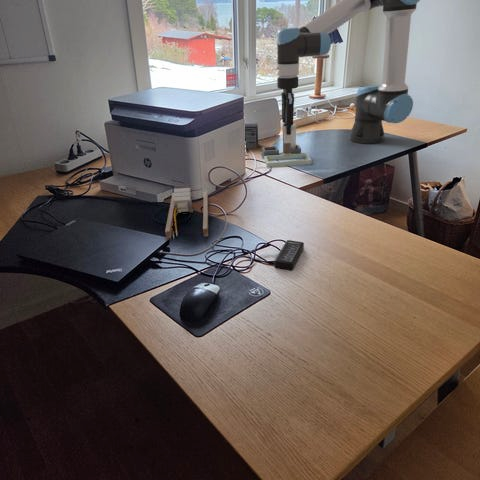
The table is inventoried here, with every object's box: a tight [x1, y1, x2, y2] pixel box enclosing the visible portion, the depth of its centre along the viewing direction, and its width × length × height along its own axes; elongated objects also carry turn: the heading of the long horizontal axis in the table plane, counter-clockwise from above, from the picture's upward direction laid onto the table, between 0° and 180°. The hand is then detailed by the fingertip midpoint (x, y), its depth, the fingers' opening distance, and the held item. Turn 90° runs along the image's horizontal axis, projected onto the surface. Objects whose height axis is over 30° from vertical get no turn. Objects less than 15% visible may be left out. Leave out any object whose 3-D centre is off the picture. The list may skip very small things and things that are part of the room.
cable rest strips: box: [164, 190, 209, 240], centre depth 127 cm, size 11×28×2 cm, turn 4°
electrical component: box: [172, 187, 194, 239], centre depth 124 cm, size 24×6×5 cm, turn 6°
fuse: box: [291, 123, 298, 149], centre depth 171 cm, size 3×3×12 cm
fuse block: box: [261, 144, 302, 160], centre depth 173 cm, size 16×7×4 cm, turn 94°
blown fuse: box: [282, 125, 291, 157], centre depth 161 cm, size 3×3×12 cm
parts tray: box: [263, 152, 313, 168], centre depth 165 cm, size 17×9×2 cm, turn 94°
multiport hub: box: [274, 239, 305, 272], centre depth 103 cm, size 4×11×2 cm, turn 158°
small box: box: [244, 123, 259, 149], centre depth 185 cm, size 11×6×10 cm, turn 84°
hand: (287, 141), depth 162 cm, fingers closed on blown fuse, 3 cm apart
